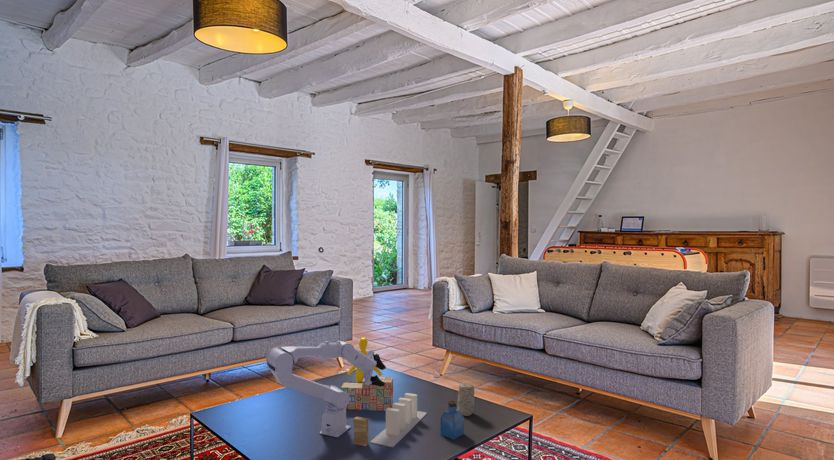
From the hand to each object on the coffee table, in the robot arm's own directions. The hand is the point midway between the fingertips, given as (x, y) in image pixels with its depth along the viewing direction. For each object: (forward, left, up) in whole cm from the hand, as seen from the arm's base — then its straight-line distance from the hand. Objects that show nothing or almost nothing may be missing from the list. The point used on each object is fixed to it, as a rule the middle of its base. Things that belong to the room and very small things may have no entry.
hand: (383, 376), depth 192 cm
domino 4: (+3, -11, -16) cm, 19 cm away
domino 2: (-8, -11, -16) cm, 21 cm away
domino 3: (-2, -11, -16) cm, 19 cm away
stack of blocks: (+5, +11, -16) cm, 20 cm away
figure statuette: (+33, +27, -16) cm, 46 cm away
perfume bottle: (-4, -31, -16) cm, 35 cm away
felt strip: (-6, -11, -16) cm, 20 cm away
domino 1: (-13, -11, -16) cm, 23 cm away
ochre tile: (-24, -4, -16) cm, 29 cm away
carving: (+16, -30, -16) cm, 37 cm away
